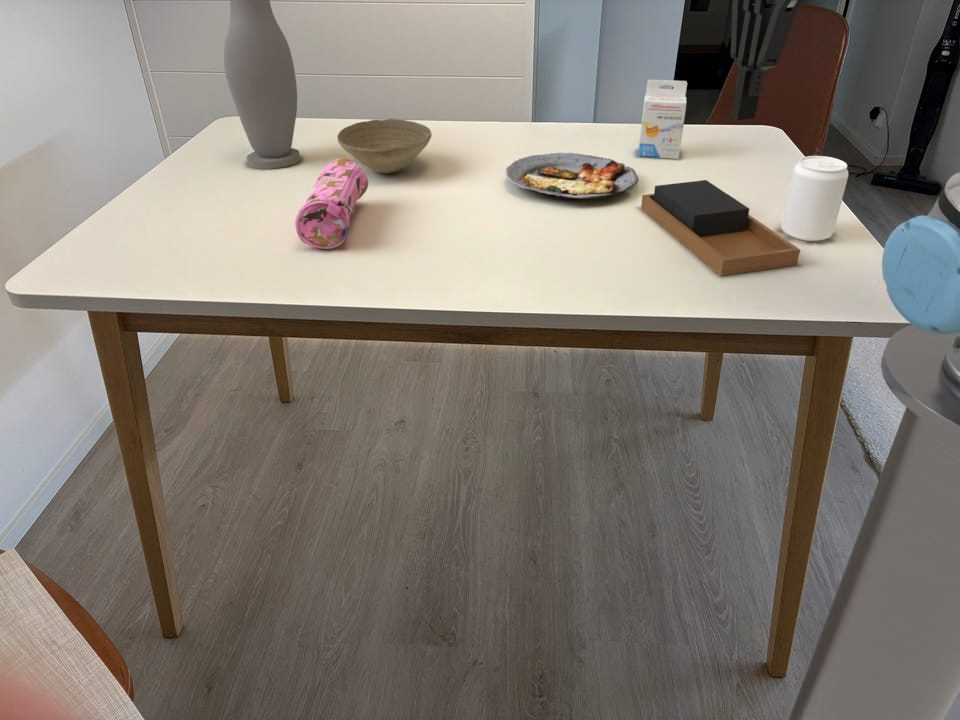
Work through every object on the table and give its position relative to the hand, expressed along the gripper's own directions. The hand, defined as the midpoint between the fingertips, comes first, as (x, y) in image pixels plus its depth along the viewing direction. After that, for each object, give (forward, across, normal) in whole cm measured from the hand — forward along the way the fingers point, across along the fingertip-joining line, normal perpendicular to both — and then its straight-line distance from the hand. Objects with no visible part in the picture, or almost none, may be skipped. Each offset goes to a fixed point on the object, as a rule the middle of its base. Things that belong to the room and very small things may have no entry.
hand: (743, 117), depth 104 cm
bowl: (+23, -57, -42) cm, 74 cm away
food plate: (+23, -39, -9) cm, 46 cm away
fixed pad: (+22, -19, +5) cm, 29 cm away
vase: (+23, -70, -64) cm, 98 cm away
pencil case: (+23, -32, -55) cm, 68 cm away
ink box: (+23, -50, +15) cm, 57 cm away
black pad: (+22, -12, +5) cm, 25 cm away
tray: (+22, -10, +5) cm, 25 cm away
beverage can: (+23, -6, +20) cm, 31 cm away
